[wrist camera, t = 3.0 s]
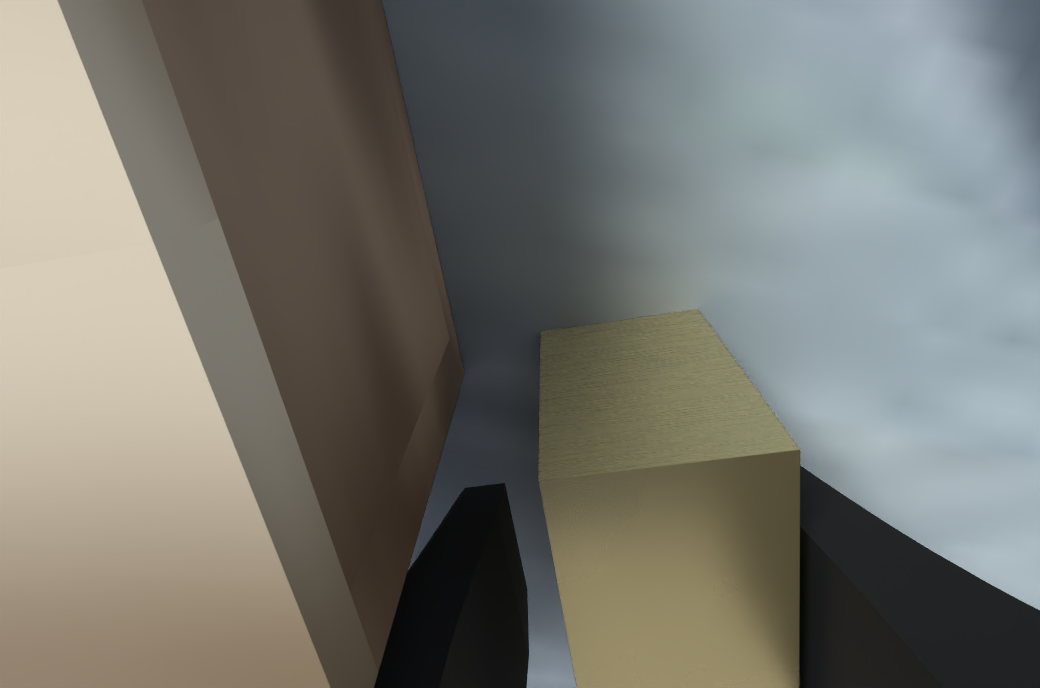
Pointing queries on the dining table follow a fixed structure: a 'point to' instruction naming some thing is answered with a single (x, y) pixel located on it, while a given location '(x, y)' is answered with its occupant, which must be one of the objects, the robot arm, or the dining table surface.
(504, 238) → the dining table surface
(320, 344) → the box
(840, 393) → the dining table surface
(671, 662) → the tan wooden block
